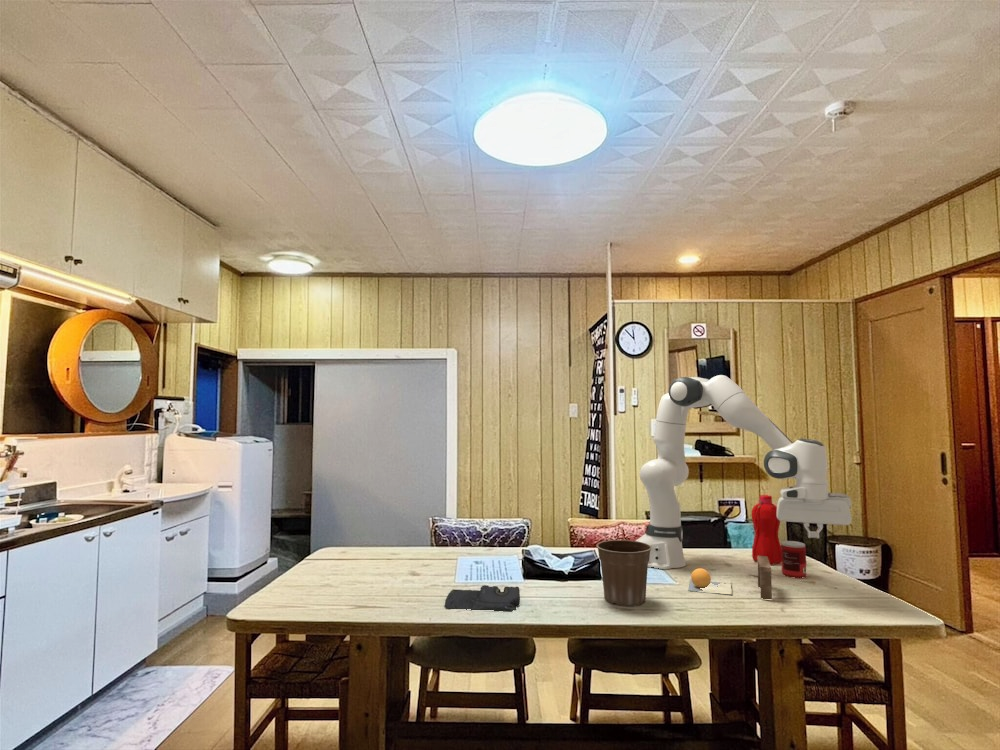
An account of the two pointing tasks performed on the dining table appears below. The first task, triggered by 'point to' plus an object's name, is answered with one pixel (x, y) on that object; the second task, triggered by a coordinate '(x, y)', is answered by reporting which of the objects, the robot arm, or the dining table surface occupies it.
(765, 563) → the wooden staple shape
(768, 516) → the water bottle
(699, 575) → the ball
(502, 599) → the dark slate chunk
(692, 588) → the flat gray rectangular panel
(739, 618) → the dining table surface
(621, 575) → the plant pot
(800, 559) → the canned food
